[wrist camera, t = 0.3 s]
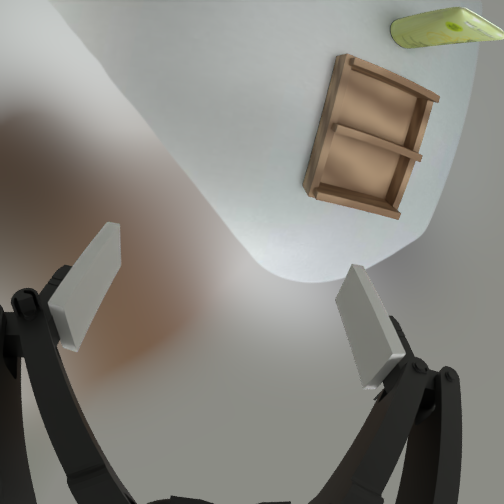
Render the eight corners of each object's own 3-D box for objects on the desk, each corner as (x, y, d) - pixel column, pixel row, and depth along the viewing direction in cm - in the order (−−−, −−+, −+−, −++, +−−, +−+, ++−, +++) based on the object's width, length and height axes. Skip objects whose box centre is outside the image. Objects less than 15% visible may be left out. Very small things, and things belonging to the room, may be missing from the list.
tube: (399, 55, 31) (490, 54, 15) (380, 27, 29) (464, 6, 12) (423, 41, 29) (514, 38, 13) (405, 14, 27) (492, -5, 11)
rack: (336, 56, 32) (352, 52, 27) (419, 90, 34) (443, 94, 28) (302, 185, 42) (311, 202, 37) (382, 205, 44) (399, 223, 39)
